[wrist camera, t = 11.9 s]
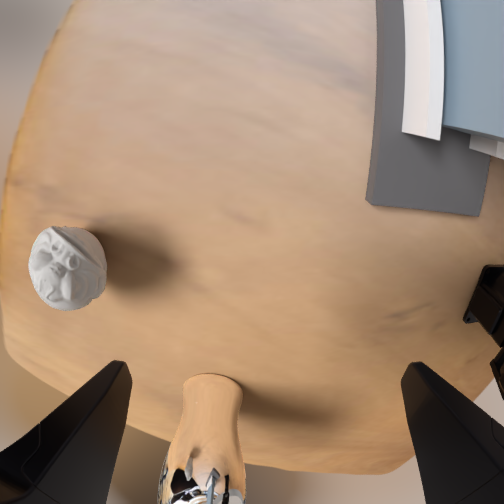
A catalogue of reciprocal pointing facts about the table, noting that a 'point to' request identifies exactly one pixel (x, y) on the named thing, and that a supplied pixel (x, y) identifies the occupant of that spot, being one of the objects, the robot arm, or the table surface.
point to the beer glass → (206, 446)
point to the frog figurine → (67, 267)
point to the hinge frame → (420, 120)
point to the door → (474, 67)
